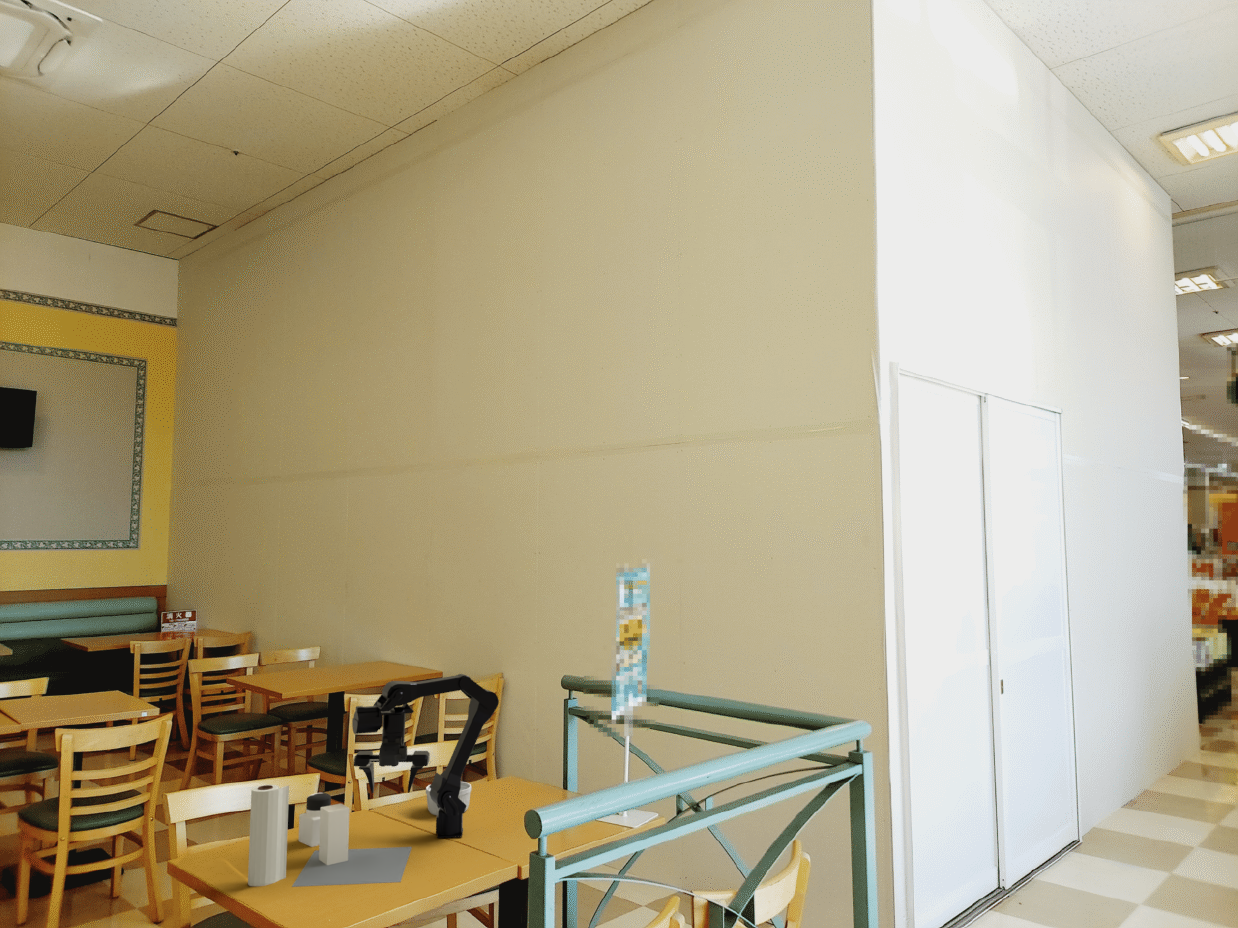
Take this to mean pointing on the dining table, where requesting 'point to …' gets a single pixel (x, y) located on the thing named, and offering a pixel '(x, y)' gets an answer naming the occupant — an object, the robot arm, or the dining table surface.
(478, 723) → the robot arm
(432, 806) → the ramekin
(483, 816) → the dining table surface
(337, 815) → the tall white pillar
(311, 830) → the medicine bottle
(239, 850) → the dining table surface
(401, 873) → the mat
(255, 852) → the paper towel roll
